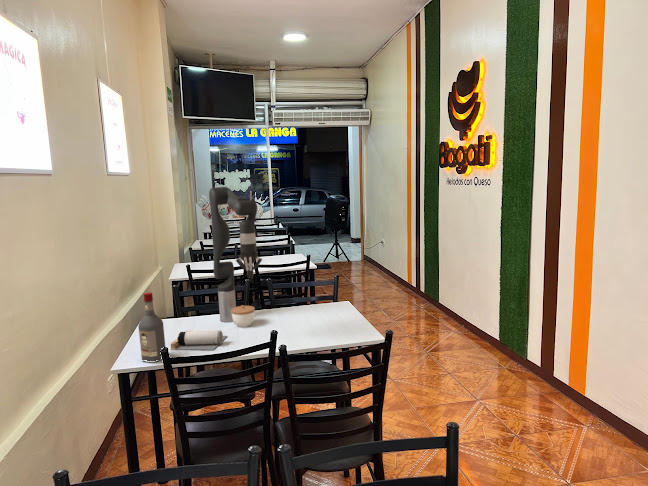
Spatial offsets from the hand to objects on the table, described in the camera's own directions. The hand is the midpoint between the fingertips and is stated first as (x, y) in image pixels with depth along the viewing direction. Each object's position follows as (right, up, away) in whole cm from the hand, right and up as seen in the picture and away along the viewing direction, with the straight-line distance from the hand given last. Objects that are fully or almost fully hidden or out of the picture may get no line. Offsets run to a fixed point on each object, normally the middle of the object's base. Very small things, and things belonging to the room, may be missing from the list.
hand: (250, 277), depth 213 cm
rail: (-34, -32, +3) cm, 47 cm away
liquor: (-41, -35, -15) cm, 56 cm away
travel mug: (-14, -28, -1) cm, 31 cm away
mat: (-24, -32, +2) cm, 40 cm away
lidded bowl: (-8, -28, +27) cm, 39 cm away
